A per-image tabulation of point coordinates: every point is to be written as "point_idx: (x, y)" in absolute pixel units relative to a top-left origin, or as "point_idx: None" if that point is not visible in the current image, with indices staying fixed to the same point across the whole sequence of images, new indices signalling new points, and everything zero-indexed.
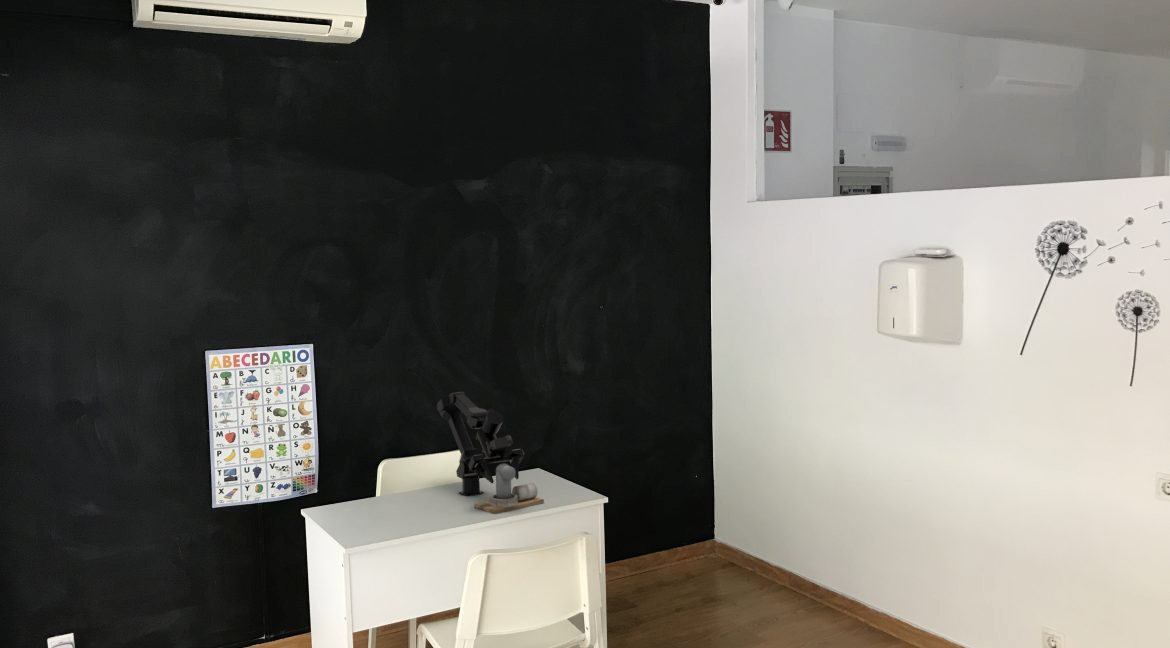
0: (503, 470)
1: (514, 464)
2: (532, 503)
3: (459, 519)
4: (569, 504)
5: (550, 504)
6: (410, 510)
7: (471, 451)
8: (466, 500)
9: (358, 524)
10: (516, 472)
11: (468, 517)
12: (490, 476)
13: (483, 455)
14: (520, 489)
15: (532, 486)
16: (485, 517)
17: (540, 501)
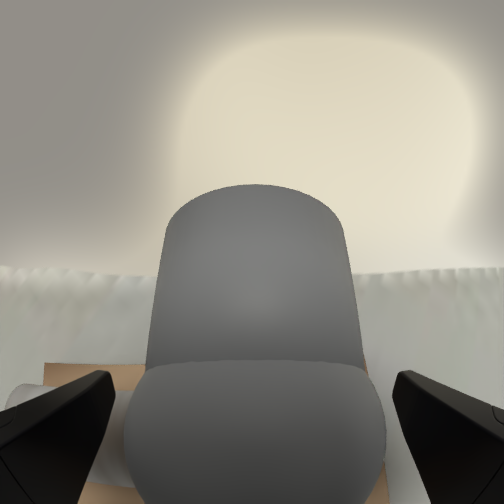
0: (344, 248)
1: (5, 450)
2: (108, 366)
3: (487, 354)
4: (16, 284)
5: (48, 336)
6: None
7: None
8: None
9: None
10: (76, 394)
11: (457, 366)
12: (446, 390)
13: None
14: (121, 400)
15: (31, 395)
16: (400, 328)
17: (64, 365)
